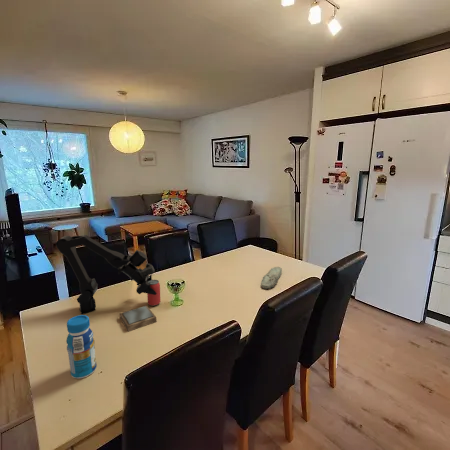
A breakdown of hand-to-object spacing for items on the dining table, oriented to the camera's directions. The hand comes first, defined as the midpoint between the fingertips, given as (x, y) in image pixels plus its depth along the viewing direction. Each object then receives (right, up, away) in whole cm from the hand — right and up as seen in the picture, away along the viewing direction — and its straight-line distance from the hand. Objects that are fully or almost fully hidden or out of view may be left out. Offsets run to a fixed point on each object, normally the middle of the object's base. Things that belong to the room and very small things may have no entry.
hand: (156, 291), depth 139 cm
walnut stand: (-5, -10, -13) cm, 18 cm away
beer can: (-1, -7, +1) cm, 7 cm away
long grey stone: (+67, -1, +34) cm, 75 cm away
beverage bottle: (-14, -17, -45) cm, 50 cm away
